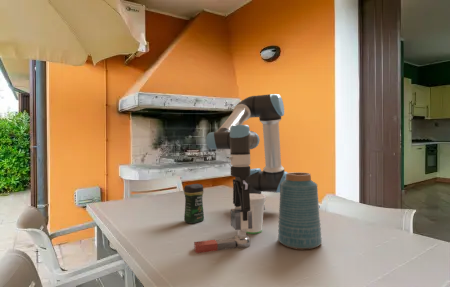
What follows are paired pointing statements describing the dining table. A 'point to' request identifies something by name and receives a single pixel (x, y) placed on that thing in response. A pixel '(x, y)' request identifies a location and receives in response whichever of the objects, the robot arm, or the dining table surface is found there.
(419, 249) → the dining table surface
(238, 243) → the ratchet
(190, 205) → the coffee jar
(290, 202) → the vase
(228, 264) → the dining table surface
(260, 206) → the cup
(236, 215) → the grey wooden cube
